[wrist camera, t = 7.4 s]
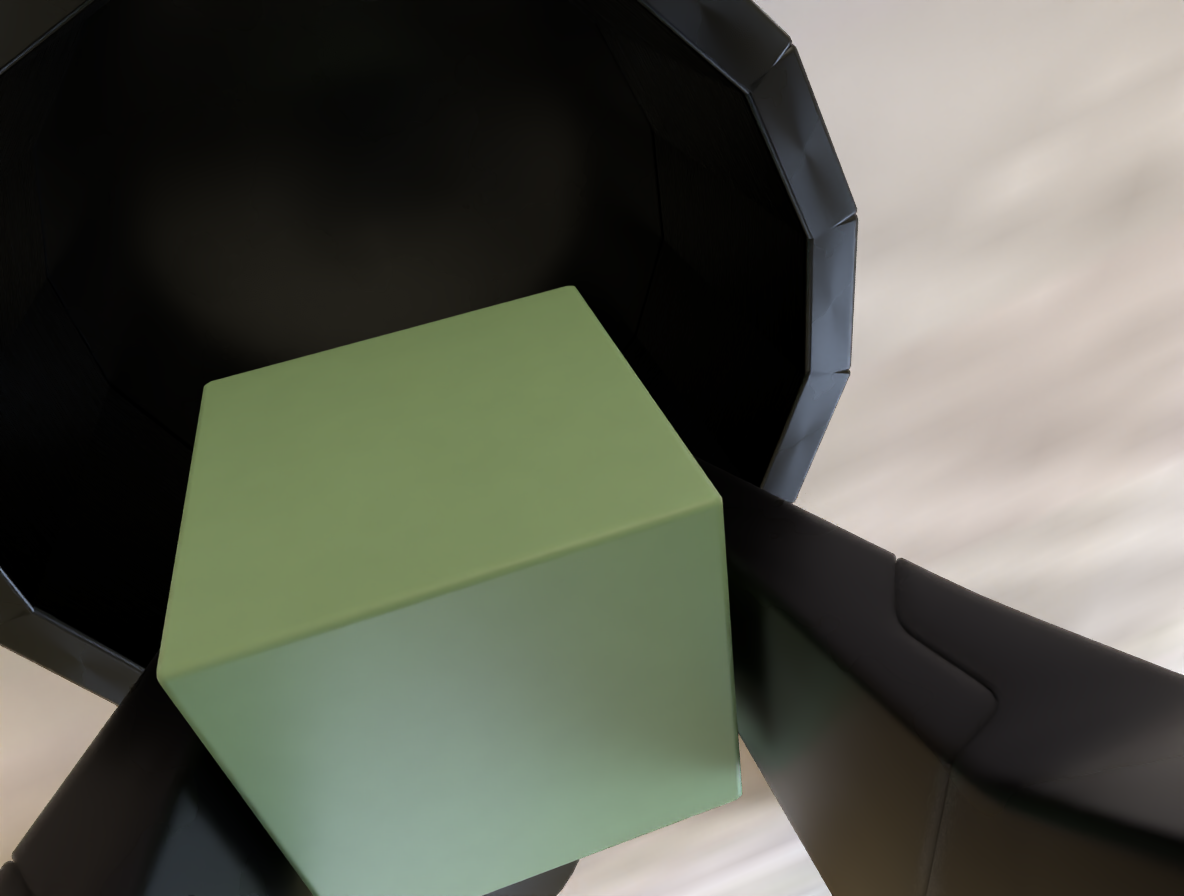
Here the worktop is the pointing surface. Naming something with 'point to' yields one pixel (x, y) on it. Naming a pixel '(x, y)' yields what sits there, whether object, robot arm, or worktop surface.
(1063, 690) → the robot arm
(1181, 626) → the worktop surface
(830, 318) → the tin
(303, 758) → the block
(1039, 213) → the worktop surface
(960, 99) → the worktop surface
